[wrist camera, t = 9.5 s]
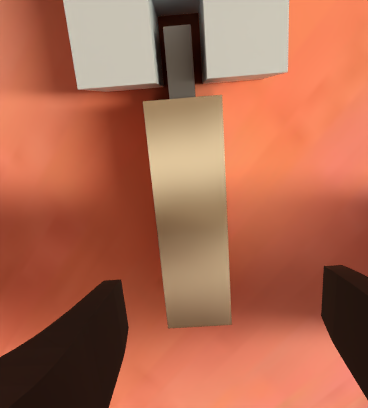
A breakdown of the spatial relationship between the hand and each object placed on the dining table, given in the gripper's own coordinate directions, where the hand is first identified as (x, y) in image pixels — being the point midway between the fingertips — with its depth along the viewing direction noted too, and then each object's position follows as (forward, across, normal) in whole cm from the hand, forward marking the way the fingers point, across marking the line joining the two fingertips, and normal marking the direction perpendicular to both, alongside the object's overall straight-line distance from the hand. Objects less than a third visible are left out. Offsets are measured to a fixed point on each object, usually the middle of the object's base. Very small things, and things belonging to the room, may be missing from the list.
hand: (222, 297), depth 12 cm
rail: (+10, +1, -2) cm, 10 cm away
